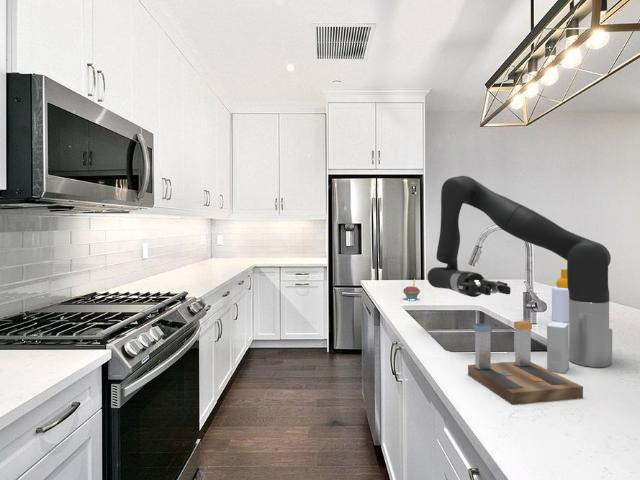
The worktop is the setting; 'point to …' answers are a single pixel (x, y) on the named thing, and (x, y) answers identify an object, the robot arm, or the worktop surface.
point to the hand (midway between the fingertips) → (499, 291)
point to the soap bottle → (561, 299)
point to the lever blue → (482, 345)
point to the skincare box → (558, 347)
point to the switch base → (525, 383)
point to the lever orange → (523, 343)
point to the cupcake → (411, 291)
